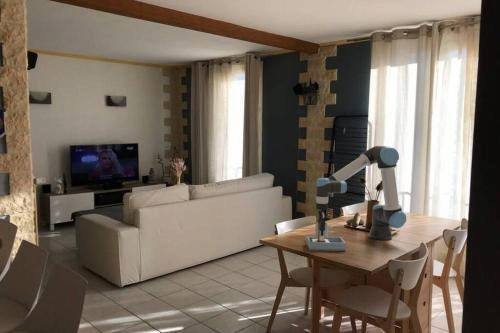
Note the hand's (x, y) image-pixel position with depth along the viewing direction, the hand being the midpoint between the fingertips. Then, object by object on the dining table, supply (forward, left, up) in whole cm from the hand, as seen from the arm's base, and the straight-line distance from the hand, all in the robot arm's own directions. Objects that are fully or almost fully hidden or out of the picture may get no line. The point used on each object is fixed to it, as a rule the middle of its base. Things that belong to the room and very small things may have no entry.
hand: (321, 239), depth 252 cm
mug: (-5, -20, -5) cm, 21 cm away
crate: (-3, 0, -5) cm, 6 cm away
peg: (0, 0, -4) cm, 4 cm away
